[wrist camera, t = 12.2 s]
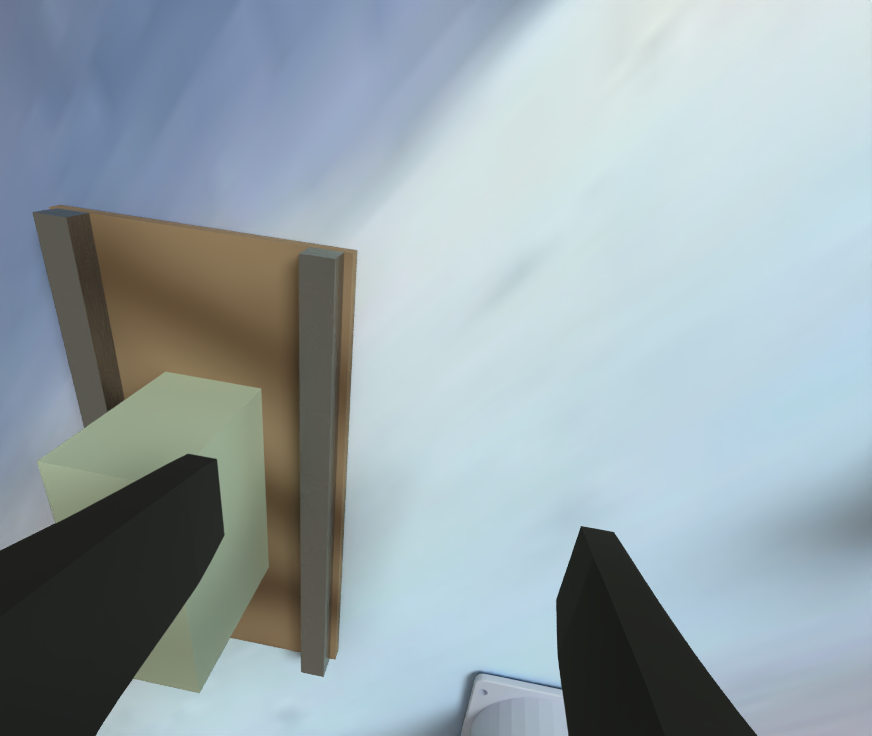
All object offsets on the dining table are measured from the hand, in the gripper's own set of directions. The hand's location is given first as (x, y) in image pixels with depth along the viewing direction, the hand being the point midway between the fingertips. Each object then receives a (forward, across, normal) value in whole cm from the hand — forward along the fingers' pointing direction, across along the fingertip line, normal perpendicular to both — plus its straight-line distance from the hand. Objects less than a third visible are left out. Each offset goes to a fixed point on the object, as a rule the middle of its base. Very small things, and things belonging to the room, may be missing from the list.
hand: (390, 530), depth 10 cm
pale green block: (+9, +9, +8) cm, 15 cm away
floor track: (+9, +9, +8) cm, 15 cm away
